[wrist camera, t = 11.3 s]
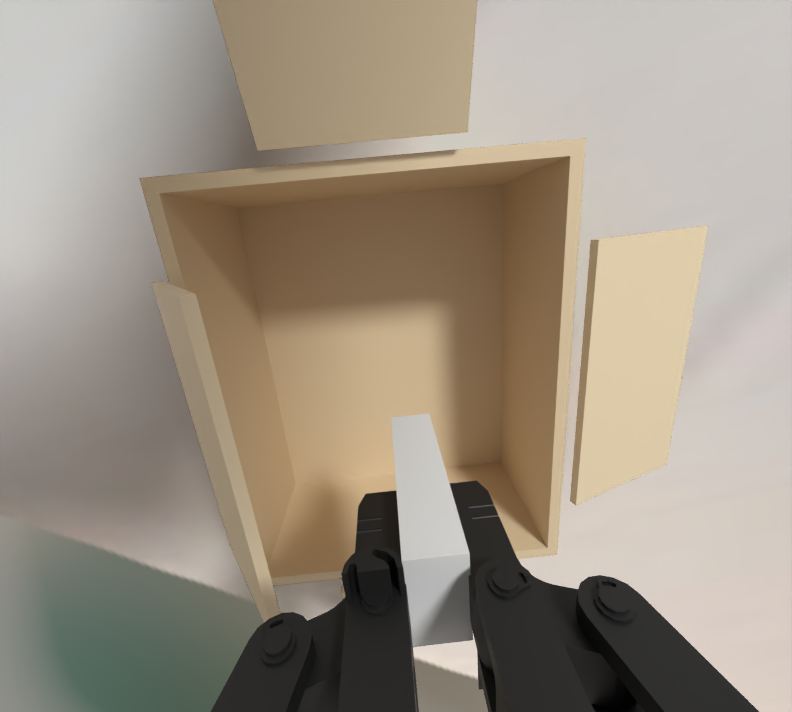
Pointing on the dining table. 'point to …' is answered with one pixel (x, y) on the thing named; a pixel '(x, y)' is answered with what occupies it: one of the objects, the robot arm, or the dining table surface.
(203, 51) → the dining table surface
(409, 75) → the flap
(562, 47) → the dining table surface
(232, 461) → the flap
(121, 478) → the dining table surface
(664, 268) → the flap
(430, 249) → the carton
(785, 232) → the dining table surface
